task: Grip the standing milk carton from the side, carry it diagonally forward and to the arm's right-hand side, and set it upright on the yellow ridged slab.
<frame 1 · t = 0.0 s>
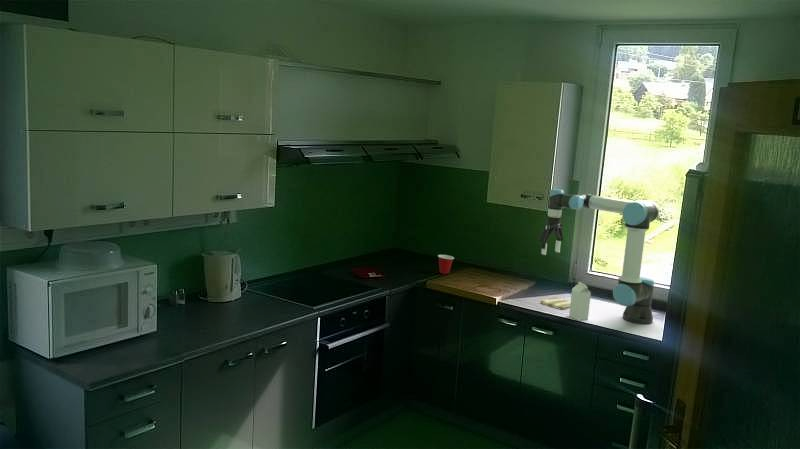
hand: (550, 253, 359), 28 cm above the countertop, tool pointing down, fingers open, 13 cm apart
yellow ridged slab: (558, 304, 357), on the countertop
milk carton: (578, 318, 335), on the countertop
plastic cup: (444, 274, 413), on the countertop
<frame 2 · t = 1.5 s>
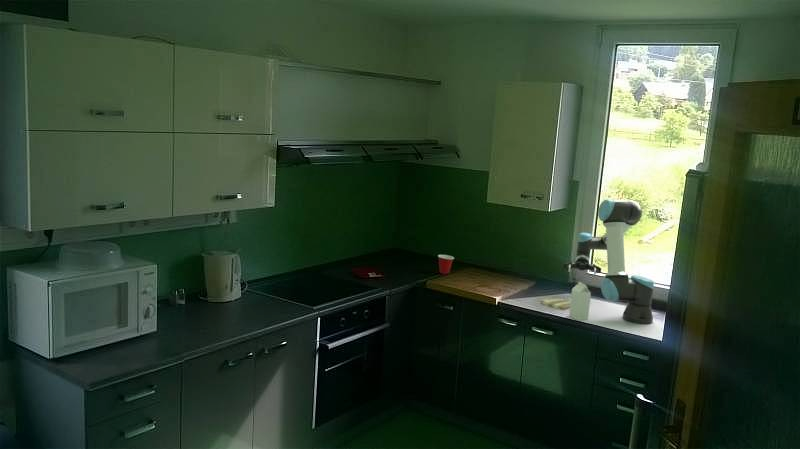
hand: (582, 271, 345), 22 cm above the countertop, tool horizontal, fingers open, 13 cm apart
nothing on the countertop moved.
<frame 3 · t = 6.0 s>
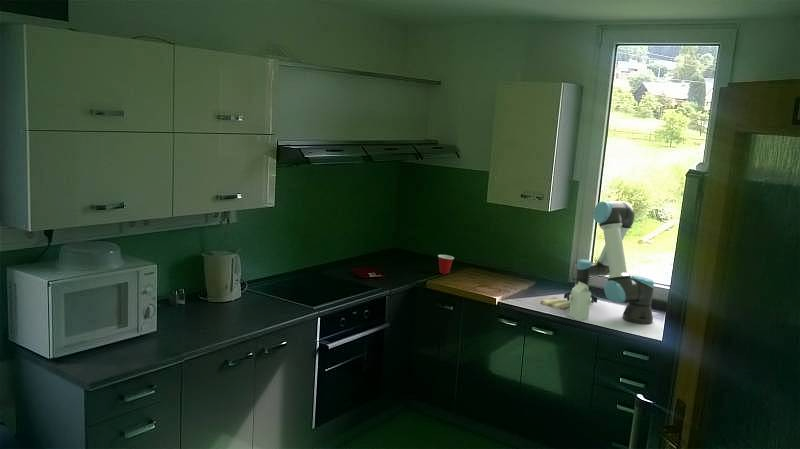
hand: (580, 301, 329), 10 cm above the countertop, tool horizontal, fingers closed on milk carton, 10 cm apart
milk carton: (578, 318, 335), on the countertop, touching gripper
everything else where it was.
when the fingers open (13 cm above the countertop, at t = 10.5 s): milk carton drops 1 cm, resting on yellow ridged slab.
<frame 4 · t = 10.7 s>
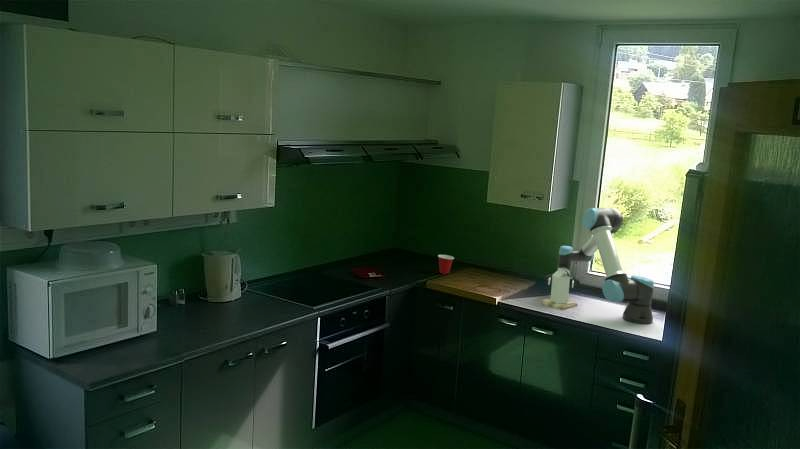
hand: (560, 283, 352), 13 cm above the countertop, tool horizontal, fingers open, 12 cm apart
milk carton: (559, 302, 357), point 1 cm above the countertop, touching yellow ridged slab
everything else where it was.
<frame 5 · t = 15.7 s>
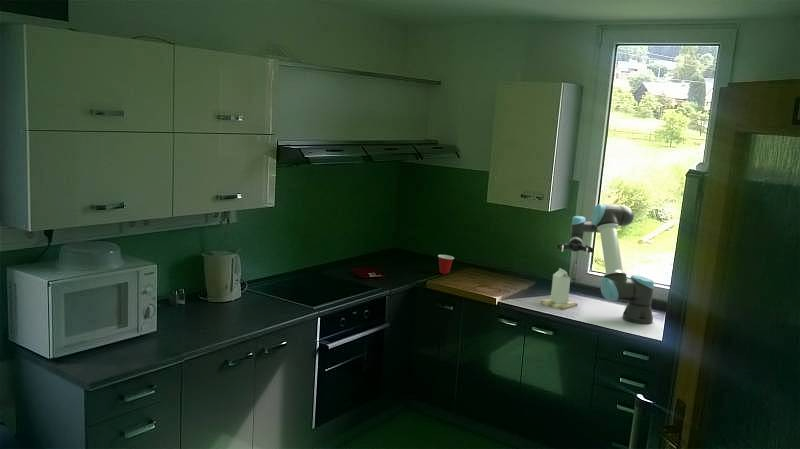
hand: (574, 250, 360), 30 cm above the countertop, tool horizontal, fingers open, 13 cm apart
nothing on the countertop moved.
at the end: milk carton inside the target area on the yellow ridged slab (0.1 cm from its centre), point 1.3 cm above the yellow ridged slab's base; milk carton tilted 0°; the gripper is holding nothing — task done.
